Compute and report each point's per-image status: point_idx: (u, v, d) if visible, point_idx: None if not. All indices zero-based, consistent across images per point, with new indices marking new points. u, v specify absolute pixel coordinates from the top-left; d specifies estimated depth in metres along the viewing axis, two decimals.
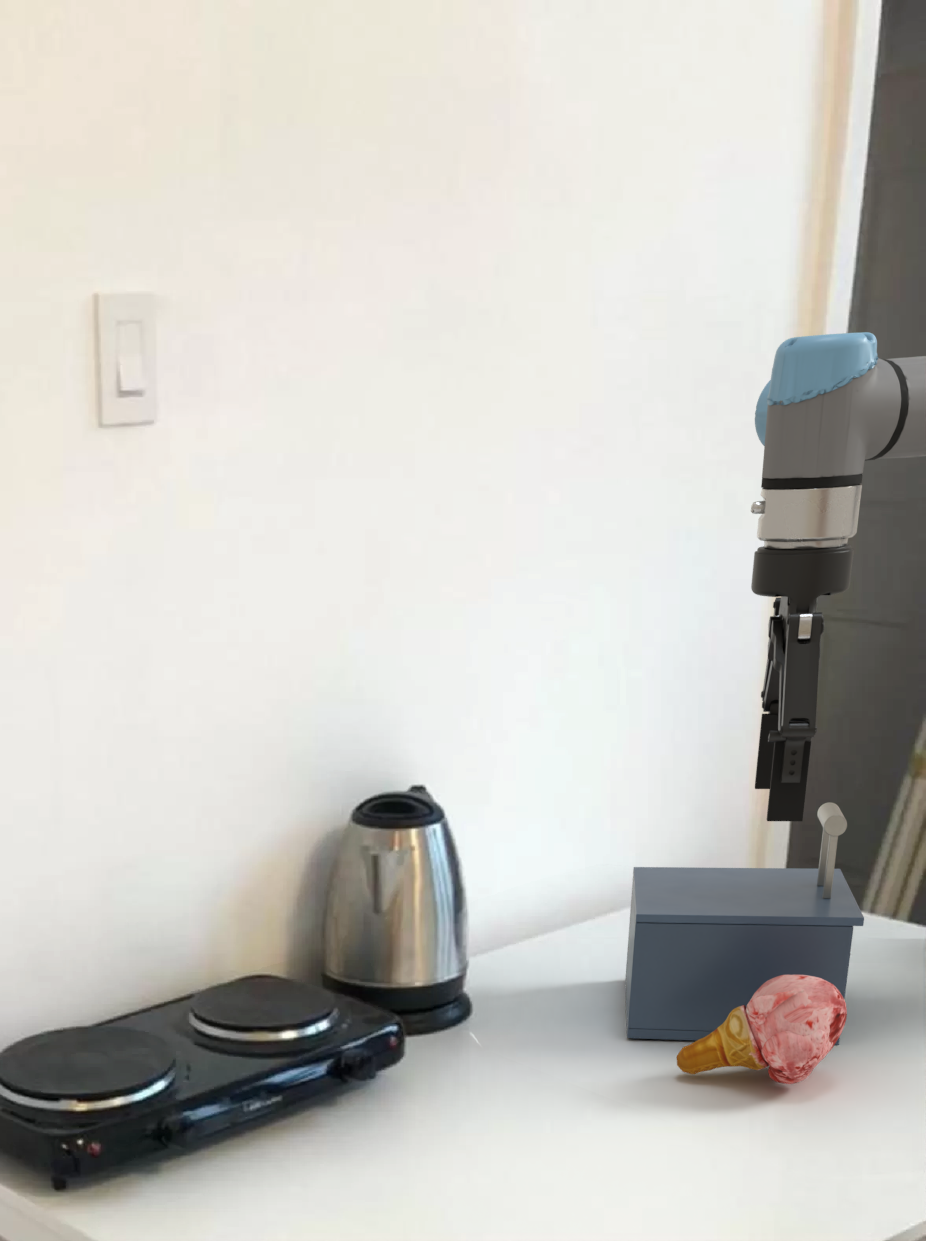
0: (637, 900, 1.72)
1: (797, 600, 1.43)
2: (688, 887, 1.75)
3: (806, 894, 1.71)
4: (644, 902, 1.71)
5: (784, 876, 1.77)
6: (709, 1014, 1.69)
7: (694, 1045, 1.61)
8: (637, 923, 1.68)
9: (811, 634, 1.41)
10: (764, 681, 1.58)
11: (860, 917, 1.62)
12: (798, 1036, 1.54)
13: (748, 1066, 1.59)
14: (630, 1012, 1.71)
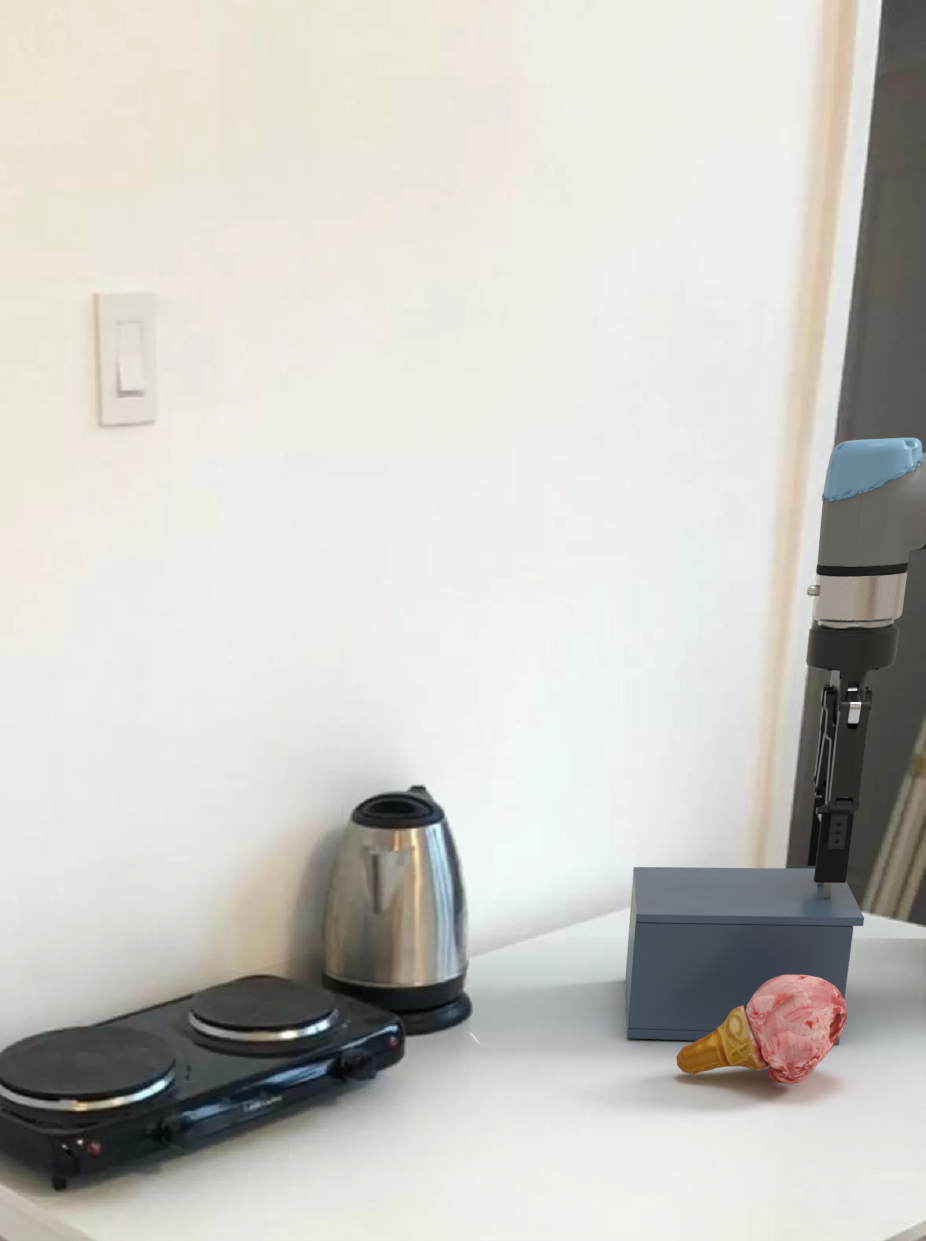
0: (637, 900, 1.72)
1: (849, 674, 1.60)
2: (688, 887, 1.75)
3: (806, 894, 1.71)
4: (644, 902, 1.71)
5: (784, 876, 1.77)
6: (709, 1014, 1.69)
7: (694, 1045, 1.61)
8: (637, 923, 1.68)
9: (859, 721, 1.59)
10: (815, 766, 1.73)
11: (860, 917, 1.62)
12: (798, 1036, 1.54)
13: (748, 1066, 1.59)
14: (630, 1012, 1.71)
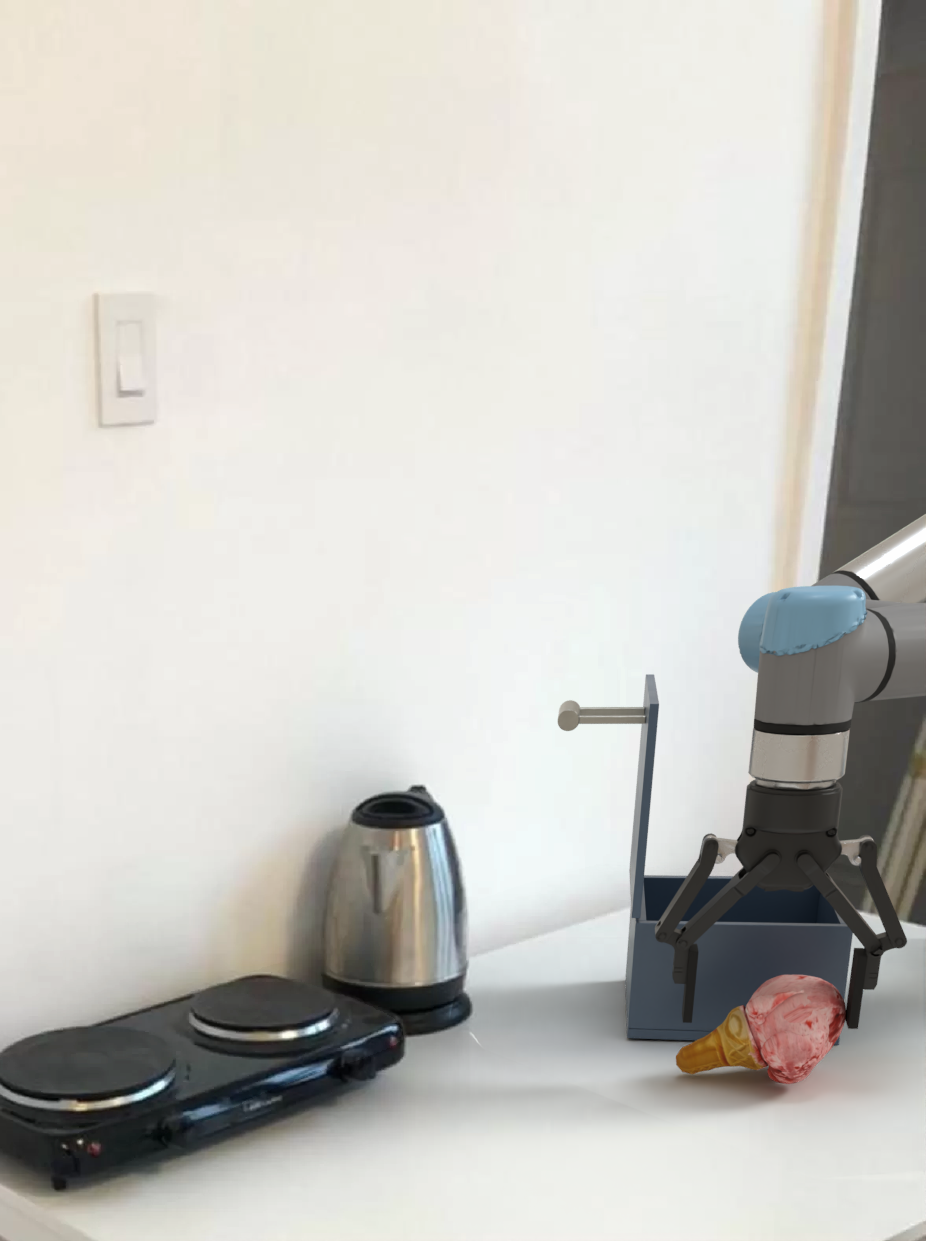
0: None
1: None
2: (634, 840, 1.75)
3: None
4: (631, 898, 1.71)
5: (641, 736, 1.76)
6: (709, 1014, 1.69)
7: (694, 1045, 1.61)
8: (637, 923, 1.68)
9: (701, 855, 1.53)
10: None
11: (649, 706, 1.60)
12: (797, 1036, 1.54)
13: (747, 1066, 1.59)
14: (630, 1012, 1.71)
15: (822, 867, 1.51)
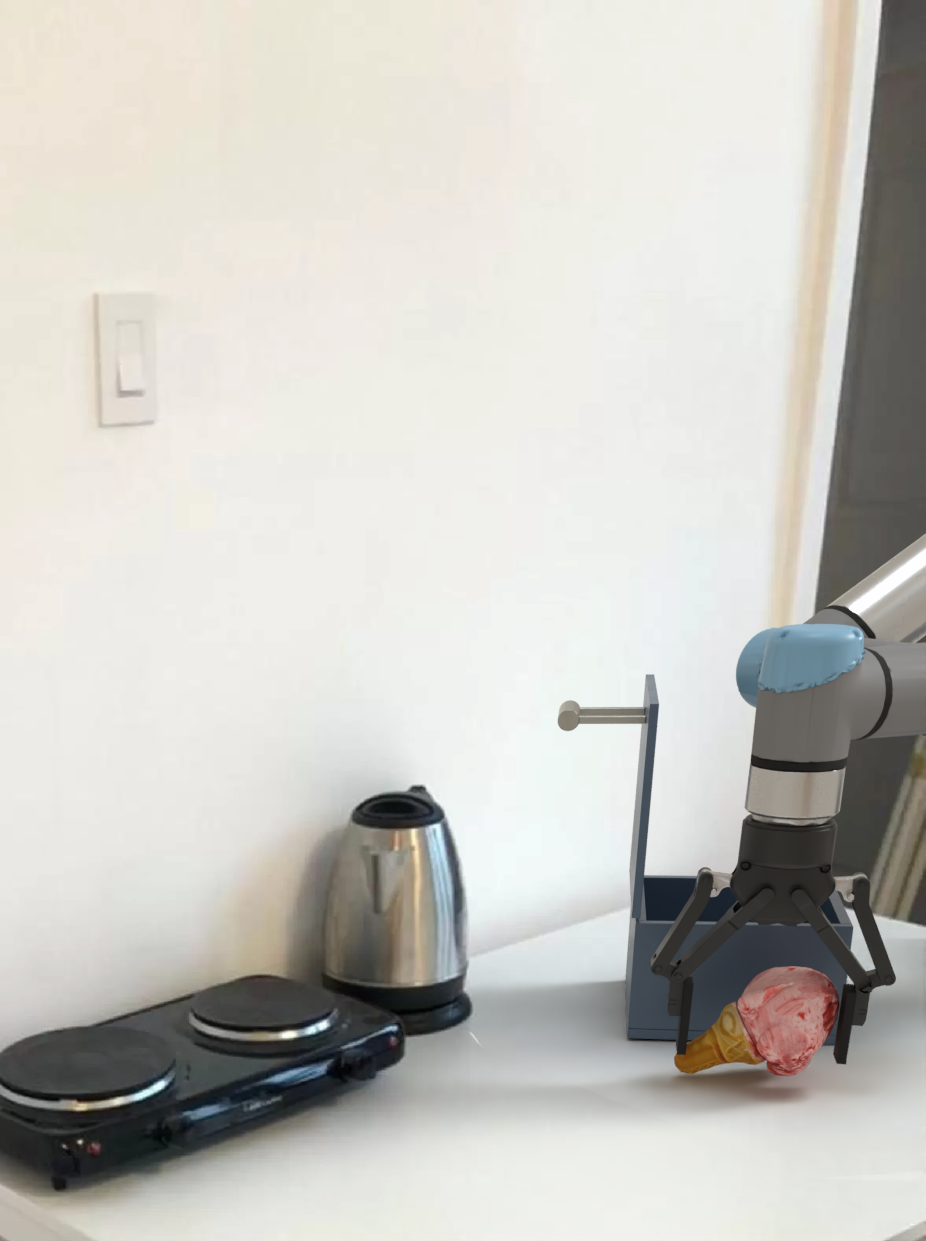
0: None
1: None
2: (634, 840, 1.75)
3: None
4: (631, 898, 1.71)
5: (641, 736, 1.76)
6: (709, 1014, 1.69)
7: (690, 1045, 1.61)
8: (637, 923, 1.68)
9: (696, 889, 1.55)
10: None
11: (649, 706, 1.60)
12: (791, 1028, 1.54)
13: (745, 1062, 1.59)
14: (630, 1012, 1.71)
15: (815, 903, 1.52)
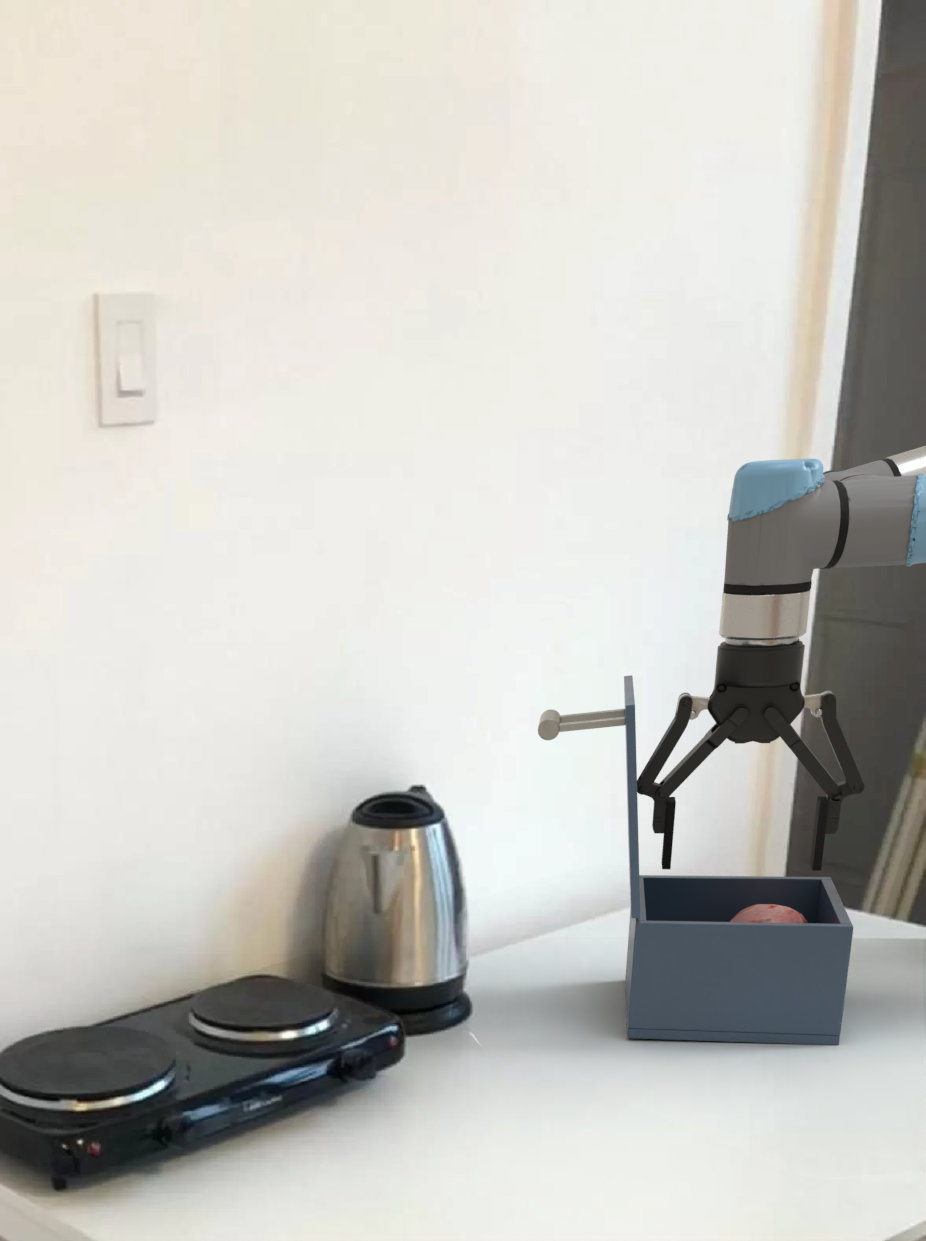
0: None
1: (714, 685, 1.67)
2: None
3: None
4: None
5: None
6: (709, 1014, 1.69)
7: None
8: (637, 923, 1.68)
9: None
10: None
11: (626, 708, 1.61)
12: None
13: None
14: (630, 1012, 1.71)
15: (787, 719, 1.65)
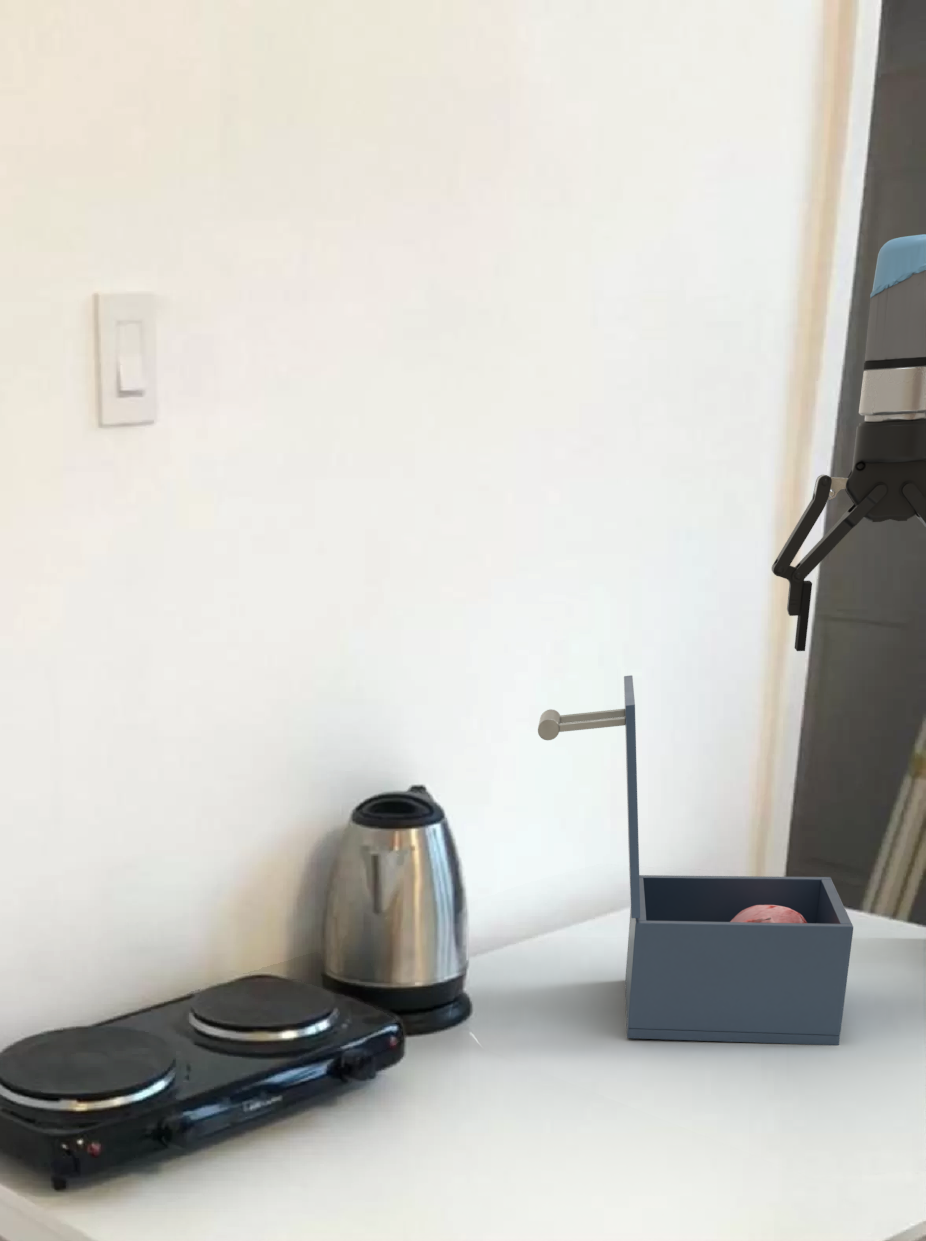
0: None
1: None
2: None
3: None
4: None
5: None
6: (709, 1014, 1.69)
7: None
8: (637, 923, 1.68)
9: (815, 492, 1.74)
10: None
11: (626, 708, 1.61)
12: None
13: None
14: (630, 1012, 1.71)
15: (924, 496, 1.71)
